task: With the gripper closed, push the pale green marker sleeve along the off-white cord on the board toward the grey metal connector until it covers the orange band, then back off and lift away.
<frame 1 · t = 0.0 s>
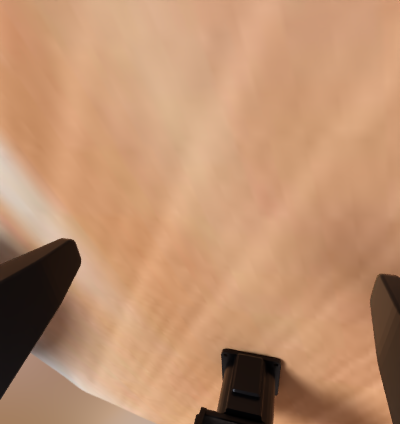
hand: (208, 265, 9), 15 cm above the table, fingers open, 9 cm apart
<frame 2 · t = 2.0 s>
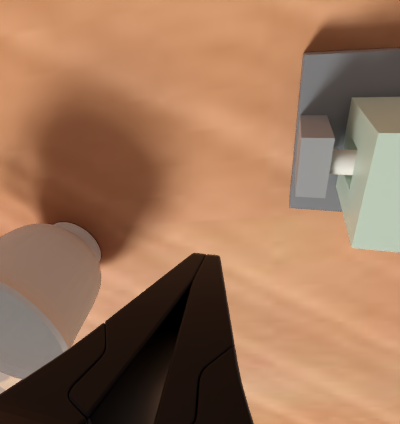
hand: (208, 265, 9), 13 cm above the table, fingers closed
teacup: (62, 240, 30), on the table
marker sleeve: (399, 168, 14), point 5 cm above the table, slide at 0.0 cm
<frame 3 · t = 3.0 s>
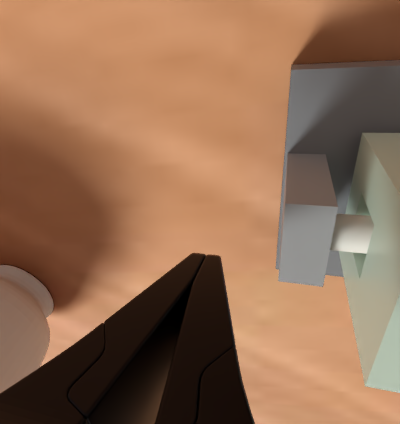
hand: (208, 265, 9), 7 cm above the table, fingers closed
teacup: (8, 284, 25), on the table
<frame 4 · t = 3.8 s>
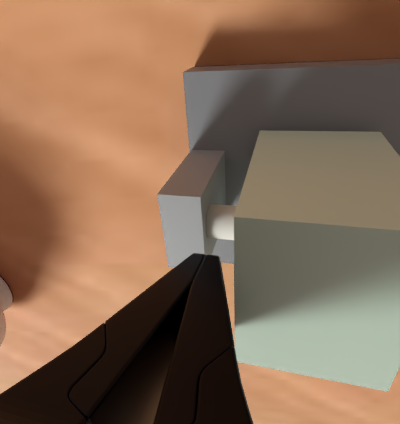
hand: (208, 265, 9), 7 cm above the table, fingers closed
marker sleeve: (312, 238, 10), point 5 cm above the table, slide at -0.4 cm, touching gripper
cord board: (370, 175, 13), on the table
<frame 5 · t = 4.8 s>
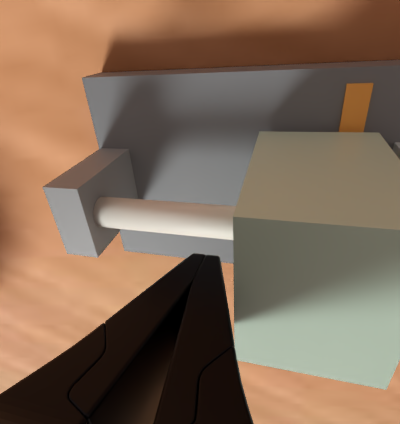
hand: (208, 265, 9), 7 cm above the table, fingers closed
marker sleeve: (311, 238, 10), point 5 cm above the table, slide at -4.8 cm, touching gripper
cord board: (266, 171, 14), on the table
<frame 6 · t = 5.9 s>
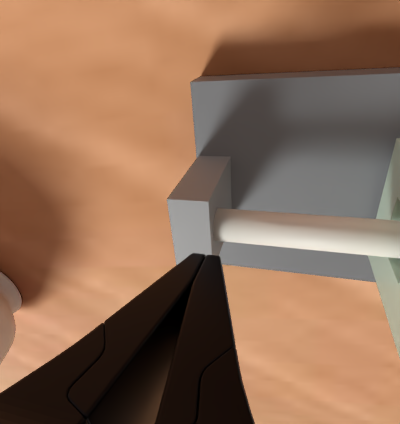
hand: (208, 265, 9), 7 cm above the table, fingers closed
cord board: (372, 179, 13), on the table
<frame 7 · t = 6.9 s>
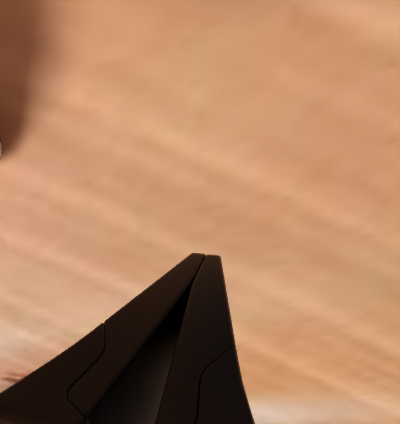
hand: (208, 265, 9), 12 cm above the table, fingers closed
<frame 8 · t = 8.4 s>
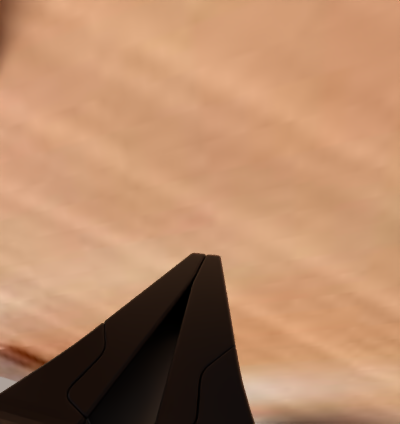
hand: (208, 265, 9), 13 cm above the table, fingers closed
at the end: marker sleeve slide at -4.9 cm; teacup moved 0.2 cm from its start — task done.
